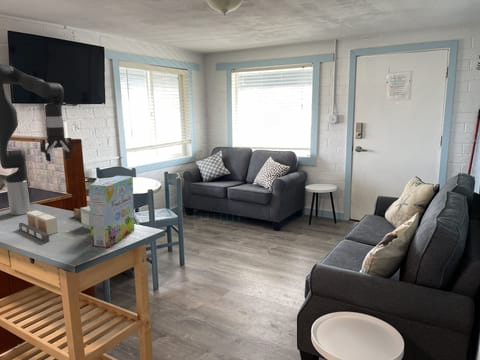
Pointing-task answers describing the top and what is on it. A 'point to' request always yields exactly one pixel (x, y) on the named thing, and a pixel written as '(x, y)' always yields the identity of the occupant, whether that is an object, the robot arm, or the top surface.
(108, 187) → the snack box
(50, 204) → the top surface
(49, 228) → the box
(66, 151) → the robot arm
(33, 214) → the faced twin box
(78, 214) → the shelf back lip
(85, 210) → the sage tea tin
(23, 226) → the rail
